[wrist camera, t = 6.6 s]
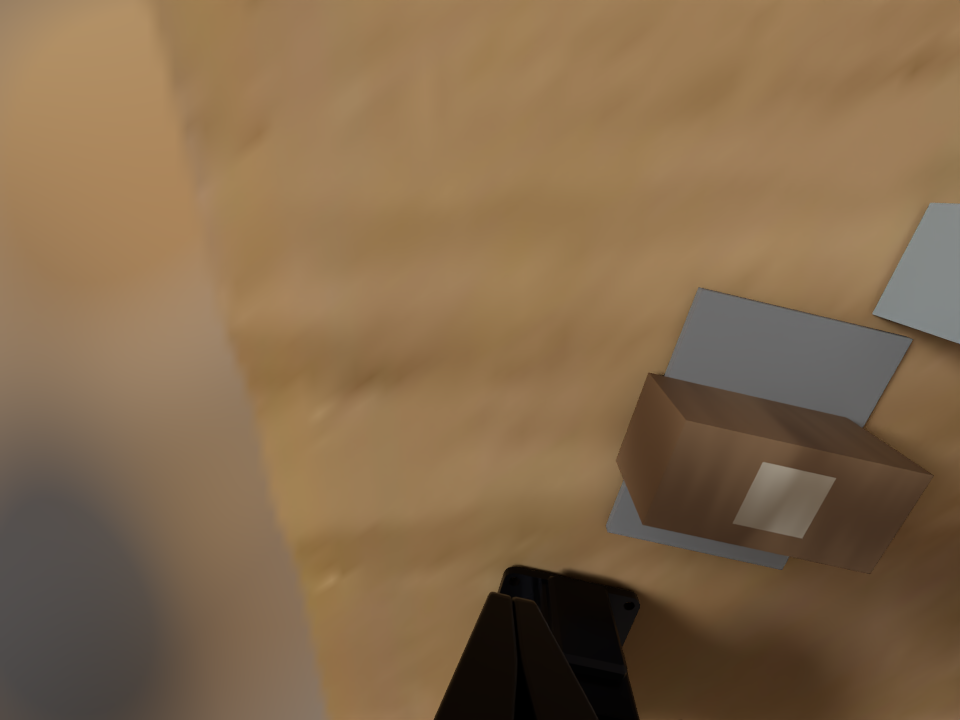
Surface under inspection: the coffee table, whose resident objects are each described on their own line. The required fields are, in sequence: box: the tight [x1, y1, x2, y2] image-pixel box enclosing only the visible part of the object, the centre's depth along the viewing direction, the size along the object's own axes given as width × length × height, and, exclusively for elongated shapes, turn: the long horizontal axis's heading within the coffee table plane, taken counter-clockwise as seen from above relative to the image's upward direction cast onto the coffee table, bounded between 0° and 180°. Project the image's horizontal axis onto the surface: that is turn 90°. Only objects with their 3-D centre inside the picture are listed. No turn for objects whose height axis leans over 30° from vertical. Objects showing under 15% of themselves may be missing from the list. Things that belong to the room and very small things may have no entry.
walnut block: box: [616, 373, 934, 574], centre depth 17 cm, size 4×4×8 cm
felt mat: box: [606, 287, 913, 570], centre depth 19 cm, size 11×8×1 cm
